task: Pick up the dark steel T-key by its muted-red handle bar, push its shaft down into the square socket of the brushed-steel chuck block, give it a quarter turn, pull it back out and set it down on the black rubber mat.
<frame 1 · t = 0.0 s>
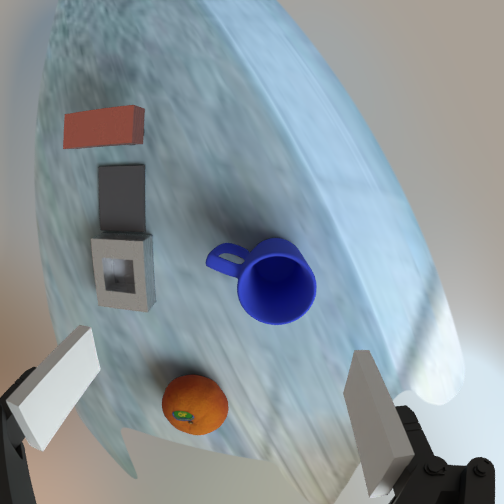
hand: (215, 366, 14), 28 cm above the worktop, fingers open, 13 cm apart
key: (132, 132, 38), on the worktop
chuck block: (128, 267, 43), on the worktop
mat: (122, 198, 41), on the worktop
fruit: (199, 388, 49), on the worktop
mug: (261, 255, 42), on the worktop
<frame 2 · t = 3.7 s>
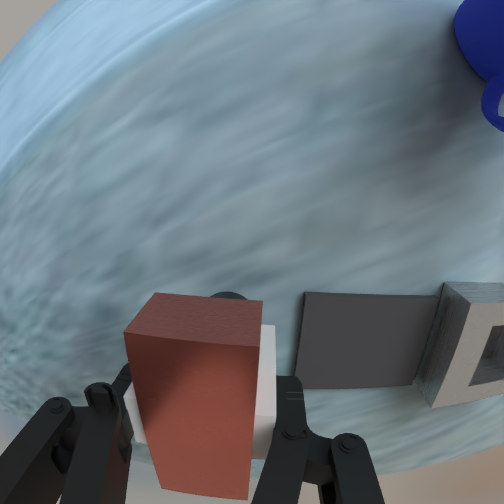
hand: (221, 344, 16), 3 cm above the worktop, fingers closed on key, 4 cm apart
key: (228, 316, 19), on the worktop, touching gripper
chuck block: (479, 331, 19), on the worktop
mat: (365, 342, 19), on the worktop
mug: (481, 67, 14), on the worktop
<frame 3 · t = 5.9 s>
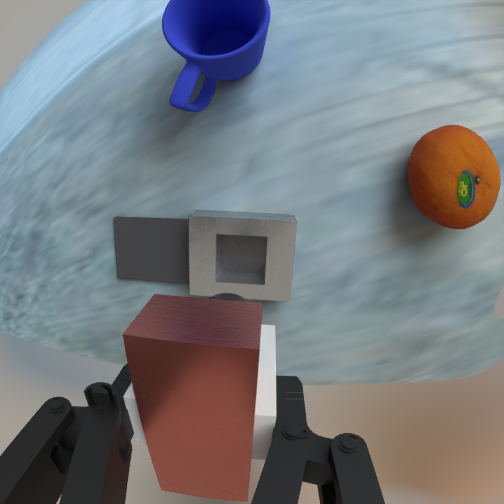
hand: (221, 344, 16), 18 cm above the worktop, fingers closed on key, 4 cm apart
key: (228, 317, 19), point 15 cm above the worktop, touching gripper
chuck block: (243, 249, 34), on the worktop
mat: (153, 249, 34), on the worktop
fruit: (435, 174, 30), on the worktop
mug: (222, 69, 28), on the worktop
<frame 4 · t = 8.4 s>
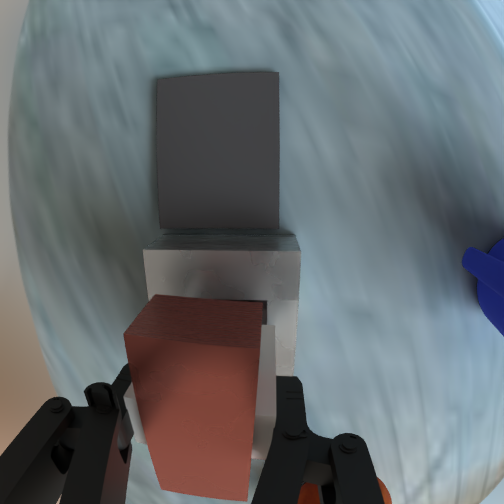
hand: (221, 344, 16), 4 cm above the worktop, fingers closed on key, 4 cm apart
key: (228, 317, 19), point 1 cm above the worktop, touching gripper
chuck block: (229, 310, 20), on the worktop
mat: (217, 149, 18), on the worktop
fruit: (334, 480, 26), on the worktop
mug: (487, 265, 19), on the worktop
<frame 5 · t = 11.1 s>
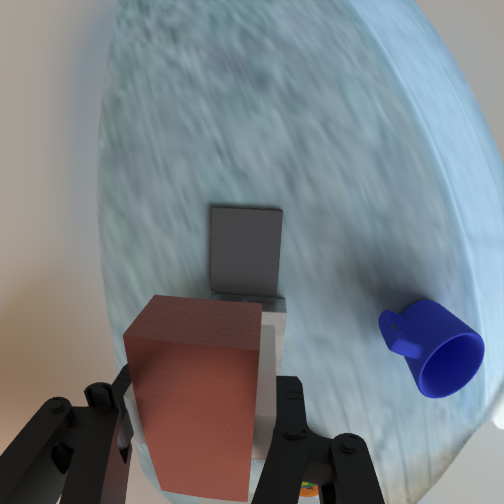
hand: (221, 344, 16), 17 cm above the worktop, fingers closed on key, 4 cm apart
key: (228, 318, 19), point 14 cm above the worktop, touching gripper
chuck block: (246, 335, 36), on the worktop
mat: (245, 251, 33), on the worktop
mug: (405, 316, 34), on the worktop
when the fingers open (4 cm above the worktop, at t = 13.5 s): key stays where it is, resting on mat.
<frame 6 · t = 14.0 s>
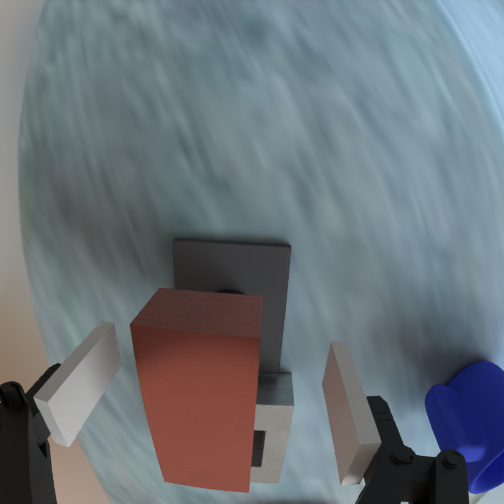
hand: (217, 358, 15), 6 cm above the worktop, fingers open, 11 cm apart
key: (229, 313, 20), point 1 cm above the worktop, touching mat
chuck block: (235, 416, 23), on the worktop
mat: (230, 309, 20), on the worktop
mug: (453, 382, 22), on the worktop
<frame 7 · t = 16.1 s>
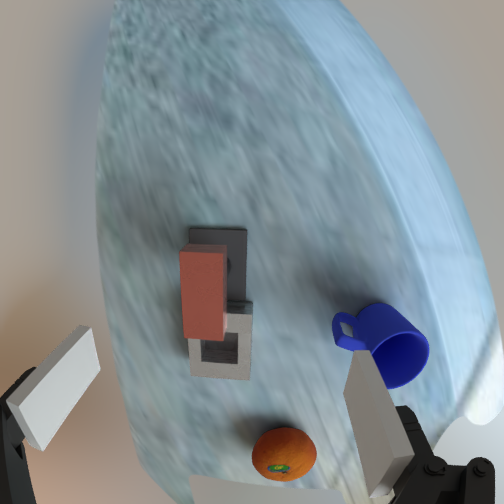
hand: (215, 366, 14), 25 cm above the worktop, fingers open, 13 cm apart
key: (217, 266, 39), point 1 cm above the worktop, touching mat
chuck block: (222, 334, 42), on the worktop
mat: (218, 264, 40), on the worktop
fruit: (283, 437, 48), on the worktop
mug: (362, 318, 41), on the worktop
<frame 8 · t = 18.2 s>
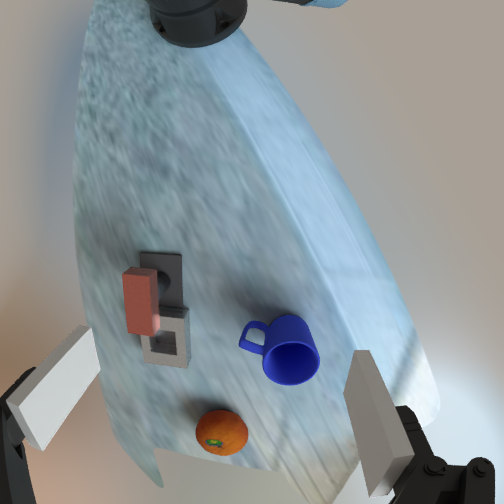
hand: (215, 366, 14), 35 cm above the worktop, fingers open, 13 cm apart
key: (160, 281, 50), point 1 cm above the worktop, touching mat
chuck block: (168, 332, 54), on the worktop
mat: (162, 279, 51), on the worktop
fruit: (224, 418, 59), on the worktop
mug: (277, 325, 52), on the worktop
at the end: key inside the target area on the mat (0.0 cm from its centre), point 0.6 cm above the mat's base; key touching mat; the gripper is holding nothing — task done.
